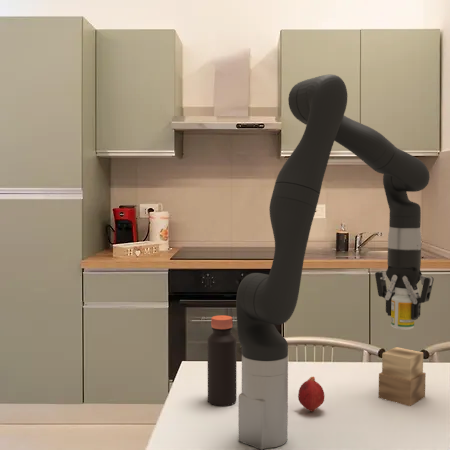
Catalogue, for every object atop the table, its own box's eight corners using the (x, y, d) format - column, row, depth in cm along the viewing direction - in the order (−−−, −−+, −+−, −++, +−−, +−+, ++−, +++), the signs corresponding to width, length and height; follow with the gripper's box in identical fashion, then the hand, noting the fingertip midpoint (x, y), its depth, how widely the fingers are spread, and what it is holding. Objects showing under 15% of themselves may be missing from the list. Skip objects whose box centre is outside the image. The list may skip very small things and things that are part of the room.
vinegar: (235, 407, 134) (235, 321, 133) (206, 406, 135) (206, 320, 133) (237, 396, 141) (237, 314, 140) (209, 395, 142) (208, 314, 140)
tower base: (410, 406, 135) (410, 381, 134) (378, 398, 140) (378, 373, 140) (425, 397, 141) (425, 372, 140) (394, 389, 146) (394, 365, 146)
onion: (304, 417, 128) (304, 382, 128) (294, 408, 134) (294, 373, 133) (328, 414, 130) (328, 379, 129) (317, 405, 135) (317, 371, 135)
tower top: (410, 380, 135) (410, 359, 135) (382, 373, 140) (382, 353, 139) (422, 373, 140) (423, 352, 140) (395, 366, 145) (395, 347, 145)
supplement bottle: (386, 326, 140) (387, 287, 139) (399, 323, 143) (400, 284, 142) (405, 331, 135) (406, 290, 135) (418, 327, 139) (419, 287, 138)
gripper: (368, 245, 140) (367, 315, 141) (427, 250, 130) (425, 325, 131) (383, 243, 145) (382, 310, 147) (440, 247, 136) (438, 319, 137)
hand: (402, 317), depth 139 cm, fingers closed on supplement bottle, 5 cm apart
